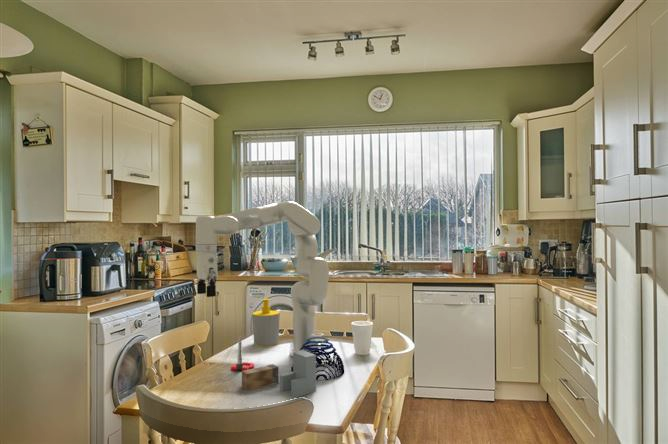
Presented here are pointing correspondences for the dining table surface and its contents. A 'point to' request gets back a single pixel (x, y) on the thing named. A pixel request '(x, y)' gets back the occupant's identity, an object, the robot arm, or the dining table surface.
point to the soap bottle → (266, 326)
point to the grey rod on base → (239, 365)
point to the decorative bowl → (322, 349)
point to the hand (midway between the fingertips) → (206, 295)
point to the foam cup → (362, 336)
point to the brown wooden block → (260, 377)
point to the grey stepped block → (300, 374)
